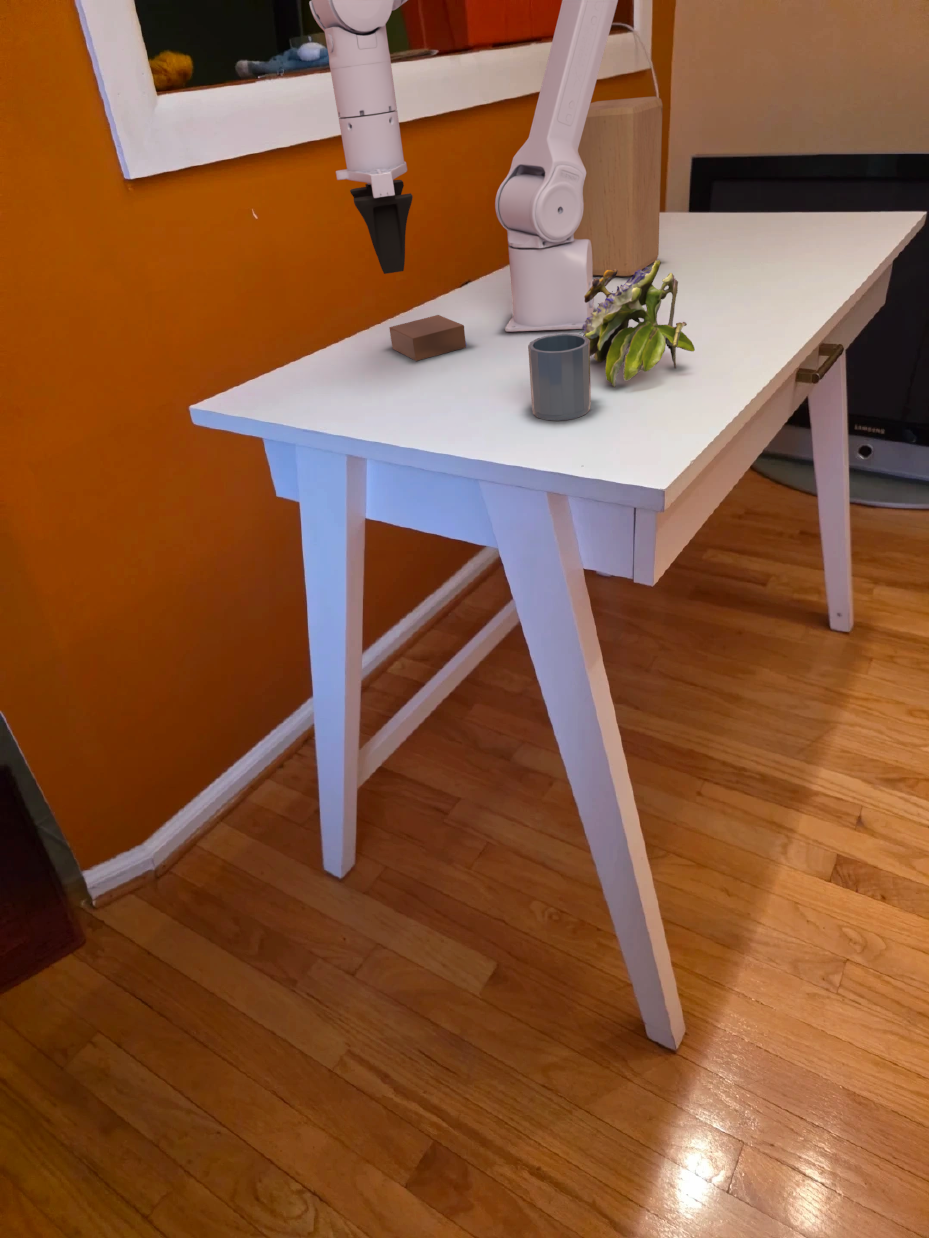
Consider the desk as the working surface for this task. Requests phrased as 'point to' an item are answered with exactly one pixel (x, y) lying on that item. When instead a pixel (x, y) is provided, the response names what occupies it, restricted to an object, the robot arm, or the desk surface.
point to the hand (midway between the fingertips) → (390, 264)
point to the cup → (560, 376)
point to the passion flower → (644, 339)
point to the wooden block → (622, 183)
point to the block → (427, 337)
